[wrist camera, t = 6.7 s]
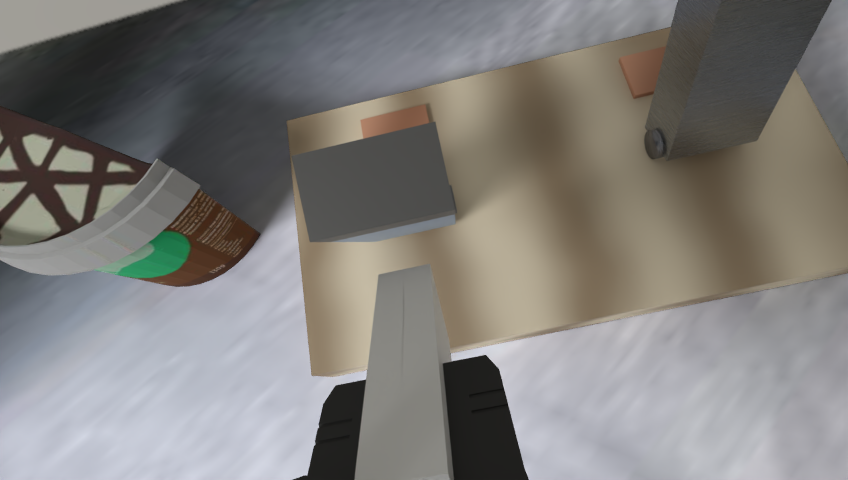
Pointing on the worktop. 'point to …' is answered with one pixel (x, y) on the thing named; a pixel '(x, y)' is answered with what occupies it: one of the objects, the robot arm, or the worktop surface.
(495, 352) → the worktop surface
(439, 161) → the lever
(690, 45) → the lever
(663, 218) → the switch board
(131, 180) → the food container
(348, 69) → the worktop surface
